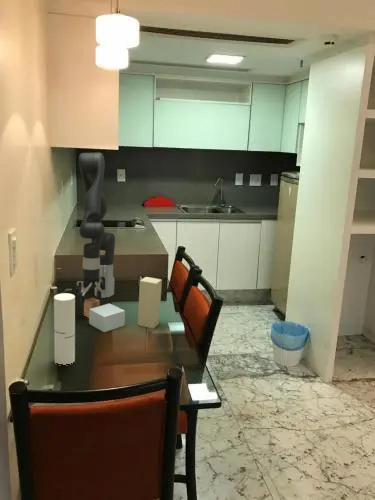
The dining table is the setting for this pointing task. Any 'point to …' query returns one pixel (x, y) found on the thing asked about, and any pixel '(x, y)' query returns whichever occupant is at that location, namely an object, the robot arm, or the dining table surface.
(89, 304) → the terracotta block
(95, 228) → the robot arm
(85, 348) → the dining table surface
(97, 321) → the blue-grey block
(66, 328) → the cylindrical container
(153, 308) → the tall beige block
